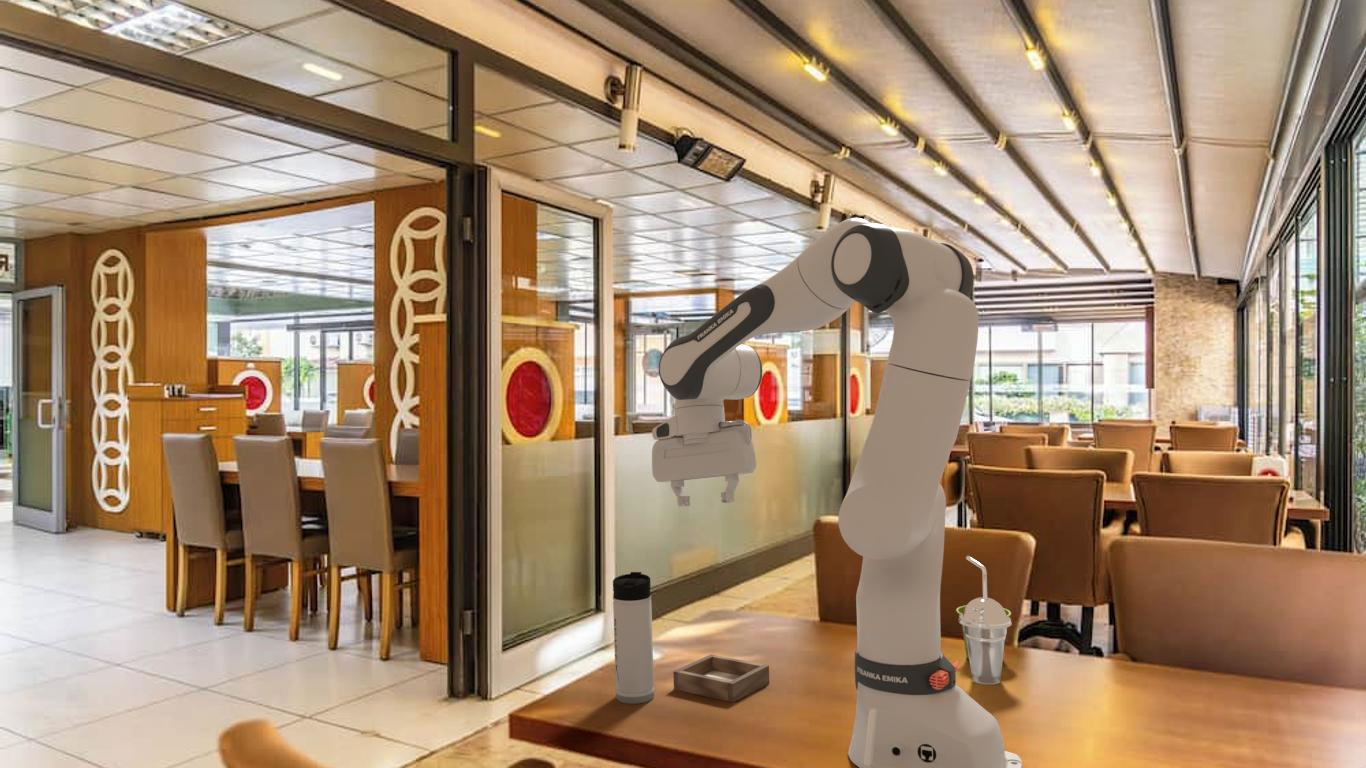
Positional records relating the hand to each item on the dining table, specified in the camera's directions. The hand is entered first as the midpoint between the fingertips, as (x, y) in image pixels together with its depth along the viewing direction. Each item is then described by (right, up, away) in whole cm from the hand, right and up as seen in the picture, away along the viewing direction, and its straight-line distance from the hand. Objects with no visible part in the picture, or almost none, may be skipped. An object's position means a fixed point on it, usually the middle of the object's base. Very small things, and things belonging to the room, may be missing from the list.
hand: (705, 504), depth 161 cm
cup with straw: (+47, -29, -5) cm, 55 cm away
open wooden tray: (+3, -30, -4) cm, 31 cm away
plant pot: (+50, -29, +6) cm, 58 cm away
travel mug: (-12, -31, -8) cm, 34 cm away
